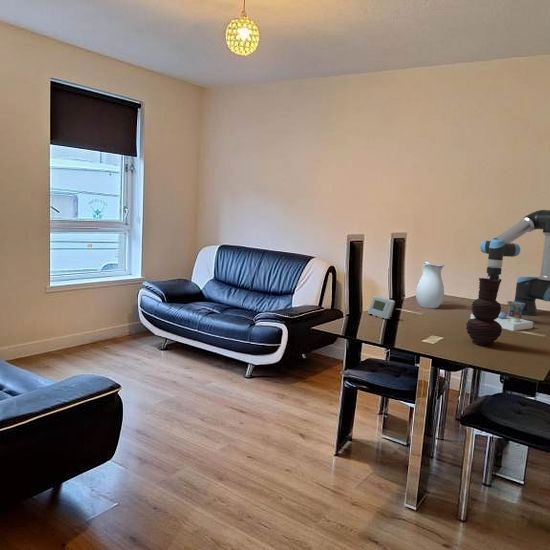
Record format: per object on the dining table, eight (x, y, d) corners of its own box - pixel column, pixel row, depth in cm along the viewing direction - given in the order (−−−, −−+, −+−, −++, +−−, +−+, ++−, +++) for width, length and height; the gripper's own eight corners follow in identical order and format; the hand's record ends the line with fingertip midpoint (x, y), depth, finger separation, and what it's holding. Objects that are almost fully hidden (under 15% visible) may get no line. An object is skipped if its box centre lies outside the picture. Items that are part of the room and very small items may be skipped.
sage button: (512, 324, 269) (513, 317, 269) (521, 327, 265) (522, 319, 265) (507, 325, 267) (508, 318, 266) (515, 327, 263) (516, 320, 262)
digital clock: (366, 314, 277) (367, 295, 276) (379, 313, 280) (381, 295, 279) (382, 320, 262) (384, 301, 261) (396, 320, 266) (398, 301, 264)
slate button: (499, 318, 276) (500, 311, 275) (507, 320, 272) (508, 313, 271) (494, 319, 273) (495, 312, 272) (502, 321, 269) (503, 314, 268)
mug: (520, 323, 277) (523, 305, 276) (503, 320, 283) (505, 302, 281) (525, 320, 287) (527, 302, 285) (508, 317, 292) (510, 300, 291)
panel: (489, 317, 288) (490, 311, 288) (532, 328, 267) (533, 321, 266) (470, 319, 279) (470, 313, 278) (513, 330, 257) (514, 324, 256)
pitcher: (446, 310, 303) (451, 265, 299) (418, 308, 303) (423, 263, 299) (434, 302, 326) (438, 261, 323) (408, 301, 326) (413, 259, 323)
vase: (482, 349, 217) (490, 282, 213) (456, 339, 230) (464, 276, 226) (507, 347, 223) (516, 282, 219) (481, 338, 237) (488, 276, 233)
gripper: (495, 265, 282) (490, 306, 285) (481, 266, 275) (476, 307, 278) (507, 267, 275) (502, 308, 279) (493, 268, 268) (488, 310, 272)
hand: (489, 308), depth 278 cm, fingers closed
